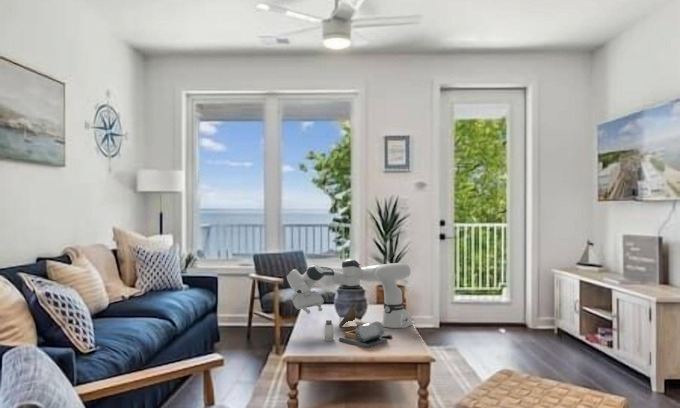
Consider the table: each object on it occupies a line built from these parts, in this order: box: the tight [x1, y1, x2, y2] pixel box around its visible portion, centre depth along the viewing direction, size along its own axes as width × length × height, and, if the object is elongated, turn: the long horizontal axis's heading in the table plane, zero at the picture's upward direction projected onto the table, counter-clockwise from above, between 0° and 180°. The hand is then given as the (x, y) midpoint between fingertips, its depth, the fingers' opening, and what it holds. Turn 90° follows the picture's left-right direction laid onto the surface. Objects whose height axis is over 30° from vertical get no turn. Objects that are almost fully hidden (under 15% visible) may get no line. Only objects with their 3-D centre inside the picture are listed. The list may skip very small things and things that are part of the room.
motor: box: [338, 321, 388, 349], centre depth 327 cm, size 18×22×11 cm
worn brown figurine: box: [338, 299, 357, 328], centre depth 364 cm, size 12×6×18 cm, turn 100°
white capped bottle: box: [324, 319, 334, 342], centre depth 331 cm, size 5×5×11 cm
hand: (315, 311), depth 338 cm, fingers open, 8 cm apart
